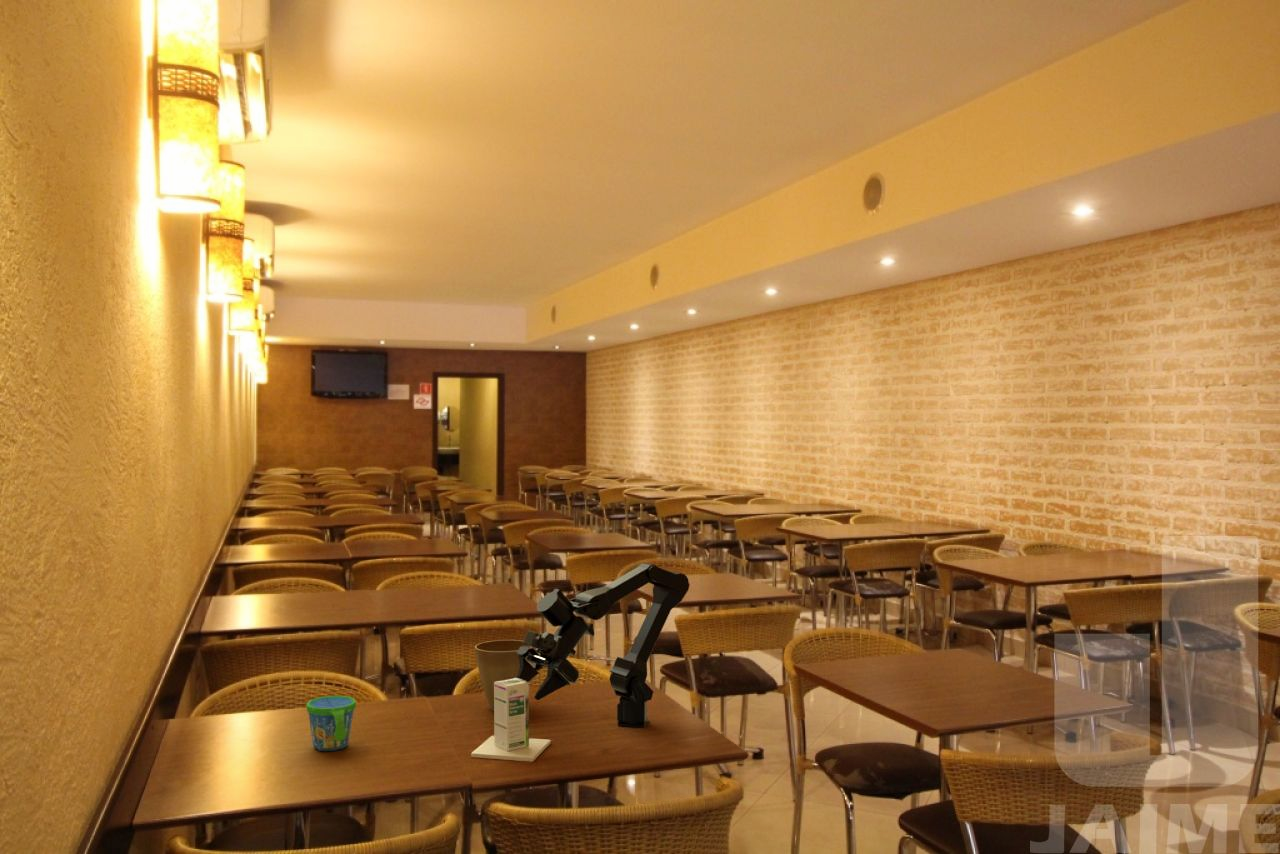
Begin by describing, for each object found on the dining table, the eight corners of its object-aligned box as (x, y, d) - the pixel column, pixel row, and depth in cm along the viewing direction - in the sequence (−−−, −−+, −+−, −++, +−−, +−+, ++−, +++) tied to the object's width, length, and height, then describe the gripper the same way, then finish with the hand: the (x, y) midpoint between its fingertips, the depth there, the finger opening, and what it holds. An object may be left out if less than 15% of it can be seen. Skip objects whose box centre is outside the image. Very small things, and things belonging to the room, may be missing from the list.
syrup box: (507, 752, 225) (507, 685, 225) (493, 745, 230) (493, 680, 230) (529, 747, 229) (529, 681, 229) (515, 740, 234) (515, 676, 233)
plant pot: (541, 701, 269) (541, 640, 269) (522, 717, 254) (522, 653, 254) (487, 698, 272) (488, 637, 272) (465, 713, 258) (465, 649, 258)
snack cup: (361, 754, 226) (361, 707, 226) (311, 760, 221) (311, 713, 221) (349, 734, 240) (349, 690, 240) (302, 740, 236) (302, 695, 236)
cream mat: (550, 743, 234) (550, 739, 234) (532, 761, 222) (532, 758, 221) (491, 739, 237) (491, 735, 237) (471, 756, 224) (471, 753, 224)
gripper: (523, 611, 242) (481, 665, 235) (567, 623, 227) (525, 681, 220) (551, 640, 247) (511, 693, 240) (597, 654, 232) (556, 712, 225)
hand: (524, 694), depth 231 cm, fingers open, 9 cm apart
